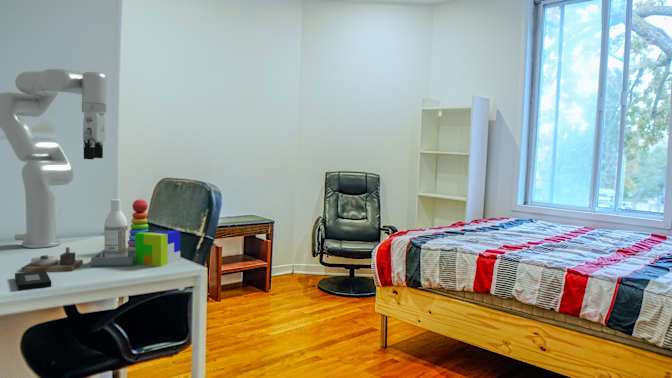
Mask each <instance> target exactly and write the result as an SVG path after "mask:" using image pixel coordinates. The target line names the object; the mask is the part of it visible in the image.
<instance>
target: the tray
mask: <svg viewBox="0 0 672 378" xmlns="http://www.w3.org/2000/svg"><path fill="white" fill-rule="evenodd" d="M90 261H91V262H90V264H91V267H94V268H96V267H97V268H98V267H99V268H100V267H104V268H105V267H134V265H135V264H136V263H135V250H128V257H105V249H102V250H100V251H99V252H98V253H96V254H95V255H93V256H92V257H91V259H90Z"/></svg>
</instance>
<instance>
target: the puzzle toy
mask: <svg viewBox="0 0 672 378" xmlns="http://www.w3.org/2000/svg"><path fill="white" fill-rule="evenodd" d="M180 261H181V231H180V230H172V229H171V230H170V229H161V228H154V229H148V231H144V232H139V233H135V264H137V265H138V264H139V265H147V266H154V267H164V266H167V265H170V264H172V263H176V262H180Z"/></svg>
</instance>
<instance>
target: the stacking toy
mask: <svg viewBox="0 0 672 378" xmlns="http://www.w3.org/2000/svg"><path fill="white" fill-rule="evenodd" d="M132 209H133V211H134V212H133V213H132V219H131V221H130V222H131V224H130V230H129V233H130V234H129V235H128V239H129V240H128V250H135V233H139V232H144V231H148V230H149V224H148V219H147V217H148V214H147V212H146V211H147V210H148V203H147V201H145V200H144V199H142V198H141V199H136V200H135V201H133V203H132Z"/></svg>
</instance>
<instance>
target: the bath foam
mask: <svg viewBox="0 0 672 378" xmlns="http://www.w3.org/2000/svg"><path fill="white" fill-rule="evenodd" d="M121 201H122V200H121V199H119V198H112V199H110V212H109V213H108V214H107V216H106V218H105V221H104V228H103V229H104V250H105V257H128V246H129V245H128V241H129V240H128V239H129V235H128V233H129V230H128V229H129V227H128V220H127V217H126V216H125V214H124V213H123V211H122V203H121Z"/></svg>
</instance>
